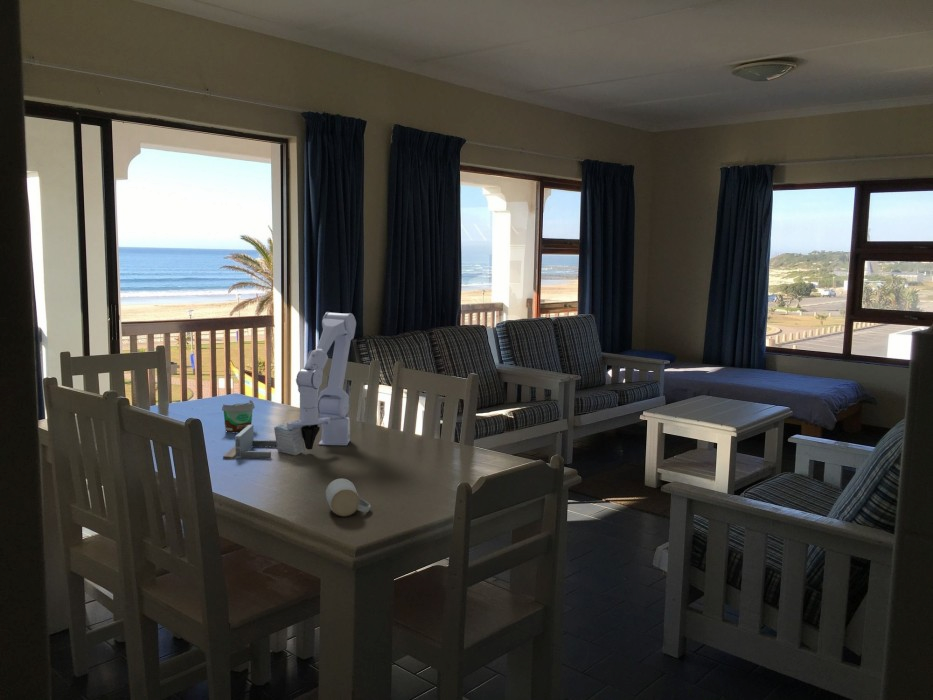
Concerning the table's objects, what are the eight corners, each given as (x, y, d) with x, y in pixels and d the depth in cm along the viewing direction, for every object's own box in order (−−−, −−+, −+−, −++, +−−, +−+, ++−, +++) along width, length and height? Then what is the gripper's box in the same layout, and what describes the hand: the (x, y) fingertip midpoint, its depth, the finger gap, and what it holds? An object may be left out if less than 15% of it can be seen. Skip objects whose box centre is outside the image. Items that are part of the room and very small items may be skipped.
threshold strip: (248, 444, 248) (248, 442, 248) (233, 459, 231) (232, 456, 231) (239, 444, 248) (239, 442, 248) (223, 458, 231) (223, 456, 230)
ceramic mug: (330, 519, 181) (331, 488, 180) (324, 508, 188) (325, 478, 188) (373, 516, 184) (374, 485, 183) (366, 505, 192) (367, 476, 191)
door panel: (253, 445, 248) (253, 424, 247) (239, 459, 231) (239, 437, 230) (248, 445, 248) (248, 424, 247) (234, 459, 231) (234, 436, 230)
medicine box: (305, 450, 240) (301, 425, 237) (295, 456, 236) (291, 430, 234) (287, 447, 244) (283, 422, 241) (277, 452, 240) (273, 427, 238)
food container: (232, 435, 260) (232, 407, 259) (222, 432, 264) (221, 404, 263) (261, 429, 270) (261, 402, 269) (251, 427, 274) (251, 400, 273)
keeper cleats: (280, 446, 247) (280, 440, 247) (270, 458, 232) (270, 452, 232) (253, 445, 247) (253, 440, 247) (240, 458, 232) (240, 451, 232)
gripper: (322, 402, 246) (322, 443, 248) (282, 407, 237) (282, 449, 238) (334, 406, 241) (333, 447, 242) (292, 411, 231) (292, 454, 233)
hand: (308, 448), depth 240 cm, fingers closed
